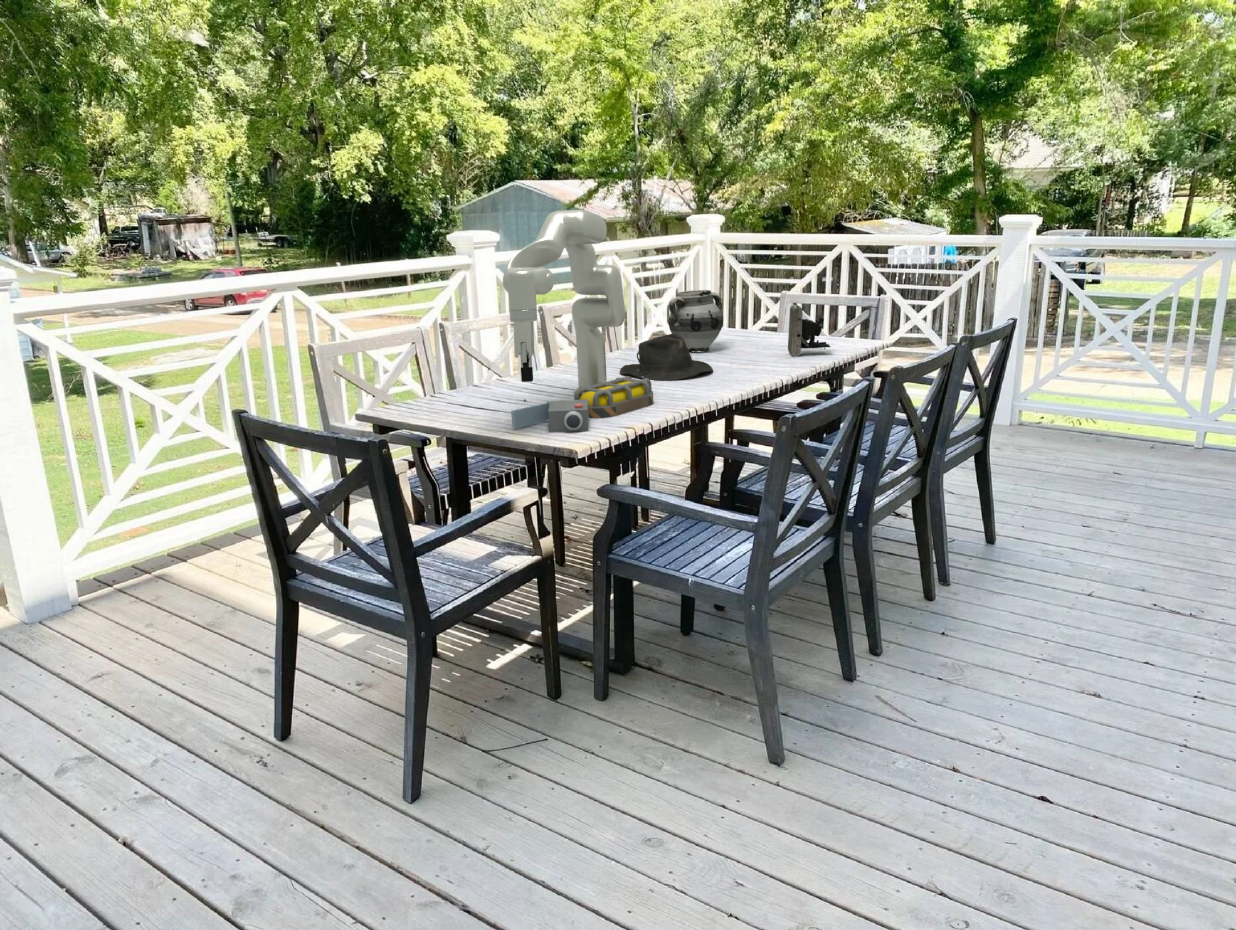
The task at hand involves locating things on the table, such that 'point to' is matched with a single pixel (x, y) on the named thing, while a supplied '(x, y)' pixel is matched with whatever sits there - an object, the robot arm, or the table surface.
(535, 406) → the side door
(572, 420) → the camera housing
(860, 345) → the table surface
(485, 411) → the table surface
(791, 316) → the vintage camera
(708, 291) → the ceramic pot
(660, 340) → the hat
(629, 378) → the cage light
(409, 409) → the table surface
